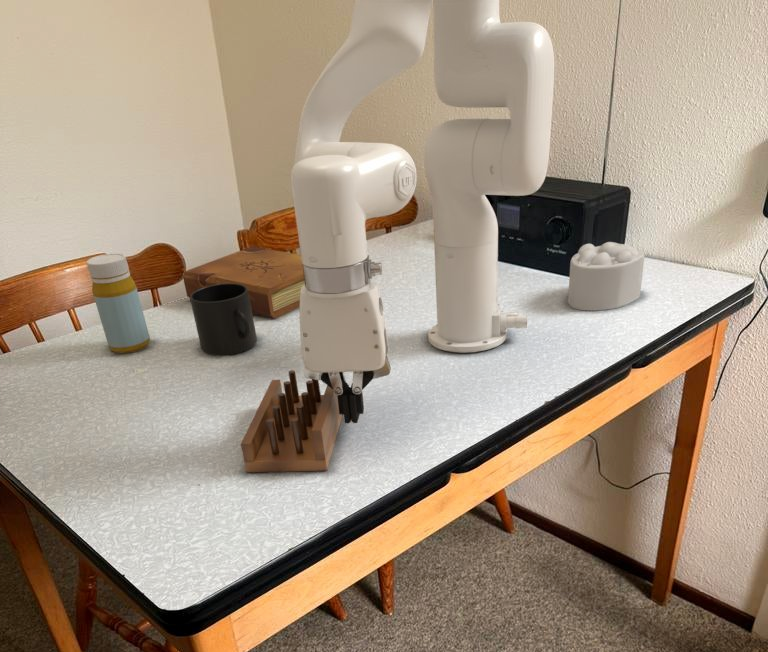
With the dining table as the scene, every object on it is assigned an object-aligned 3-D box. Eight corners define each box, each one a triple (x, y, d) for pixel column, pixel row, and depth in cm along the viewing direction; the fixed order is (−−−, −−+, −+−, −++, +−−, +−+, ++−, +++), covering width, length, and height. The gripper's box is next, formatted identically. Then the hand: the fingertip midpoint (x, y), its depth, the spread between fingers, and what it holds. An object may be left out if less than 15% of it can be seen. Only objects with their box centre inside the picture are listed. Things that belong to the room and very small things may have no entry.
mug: (229, 365, 120) (217, 310, 115) (191, 347, 128) (178, 294, 123) (277, 346, 125) (268, 292, 120) (237, 330, 133) (227, 279, 128)
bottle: (129, 356, 126) (103, 267, 118) (101, 350, 130) (74, 263, 121) (159, 341, 131) (136, 254, 123) (131, 336, 134) (108, 251, 126)
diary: (188, 301, 148) (181, 272, 145) (256, 274, 160) (251, 246, 157) (271, 320, 136) (266, 288, 133) (338, 288, 148) (335, 259, 144)
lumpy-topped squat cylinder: (648, 294, 132) (654, 243, 127) (602, 315, 125) (607, 263, 120) (598, 283, 138) (602, 234, 134) (552, 302, 132) (555, 252, 127)
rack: (346, 403, 106) (341, 363, 102) (327, 470, 91) (320, 426, 87) (276, 405, 107) (269, 366, 103) (246, 472, 92) (237, 429, 89)
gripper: (403, 262, 89) (412, 403, 99) (279, 268, 90) (300, 407, 101) (399, 282, 82) (409, 431, 93) (266, 289, 84) (290, 434, 94)
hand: (352, 418), depth 97 cm, fingers closed
